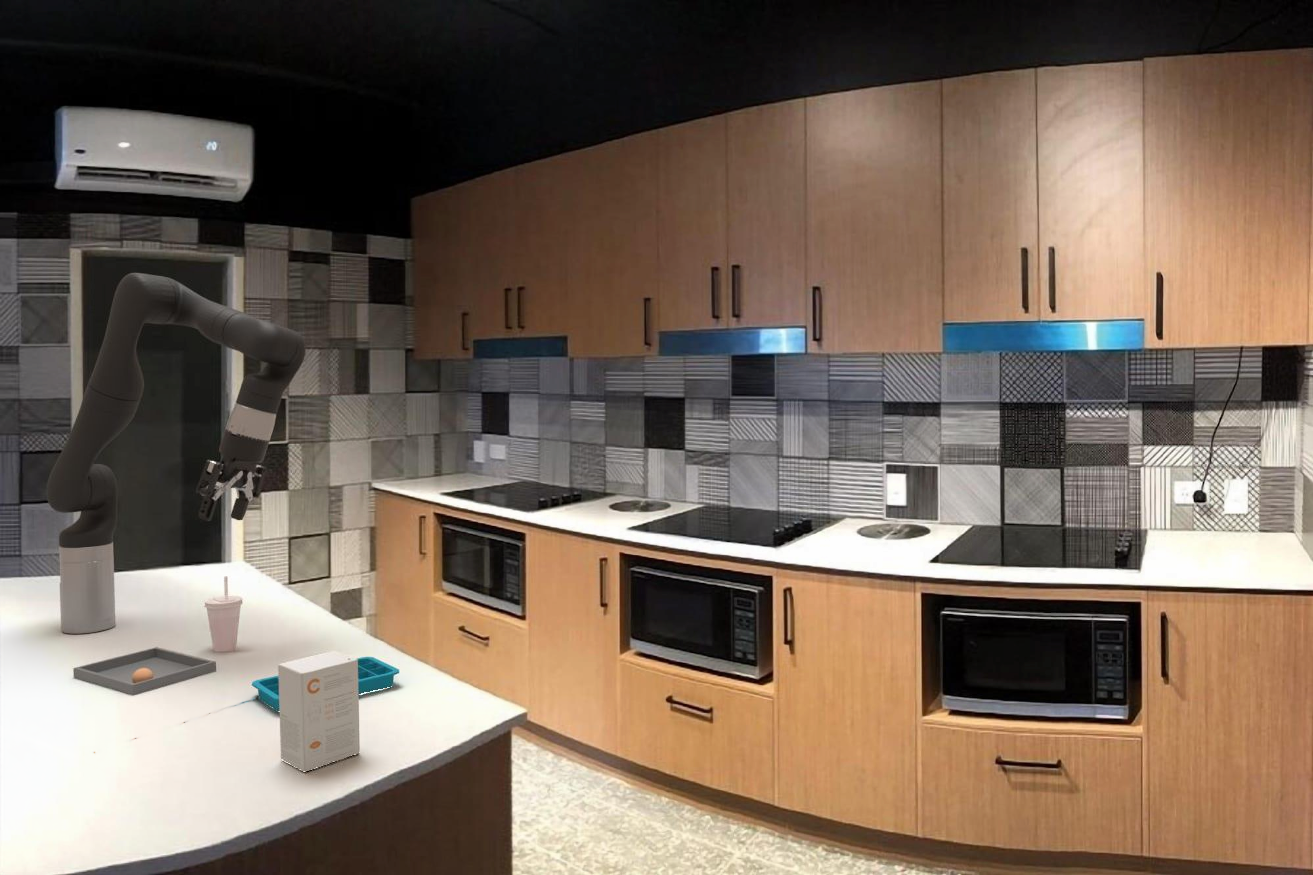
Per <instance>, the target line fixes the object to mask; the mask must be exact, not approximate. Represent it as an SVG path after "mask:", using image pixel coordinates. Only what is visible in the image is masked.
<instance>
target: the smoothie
mask: <svg viewBox="0 0 1313 875" xmlns="http://www.w3.org/2000/svg"><path fill="white" fill-rule="evenodd" d="M223 579H224V580H223V584H224V585H223V586H224V587H223V588H224V595H222V596H215V597H212V598H208V599H206V600H204V608H206V613H207V619H208V625H209V632H210V635H211V636H210V637H211V643H212V649H213V650H212V651H213V652H215V653H225V652H226V653H227V652H230V651H231V652H235V651H237V644H238V643H237V642H238V632H239V623H240V615H241V605H243V597H241V596H238V595H229V590H228V588H229V586H228V585H229V584H228V581H229V580H228V576H223Z"/></svg>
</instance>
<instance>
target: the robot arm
mask: <svg viewBox="0 0 1313 875" xmlns="http://www.w3.org/2000/svg"><path fill="white" fill-rule="evenodd" d="M107 321H108V322H107V326H106V329H105V335H104V338H103V342H102V343H101V344H102V345H101V347H100V350H99V353H98V357H97V358H96V359H97V360H96V362H95V365H94V369H93V371H92V372H91V376H90V377H89V380H88V383H87V386H86V388H85V392H84V394H83V397H82V400H81V404H80V407H79V410H78V412H77V415H76V417H75V420H74V422H73V426H72V428H71V430H70V433H69V435H68V437H67V440H66V443H65V444H64V446H63V448H62V450H61V452H60V454H59V456H58V458H57V460H56V462H55V464H54V466H53V468H52V470H51V472H50V474H49V477H48V480H47V484H46V500H47V503H48V505H49V506H50V507H51V509H53V510H54V511H56V512H59V513H65V514H68V513H70V514H71V513H78V512H80V514H79V515H80V516H79V517H78V518H77V520H76V521H74V523H73V524H71V525H69V526H68V527H67V528H64V529H63V530H61V532H59V536H58V550H59V551H58V552H59V578H60V579H59V580H60V582H59V602H60V606H59V607H60V628H61V632H62V633H65V634H74V635H75V634H88V633H89V634H90V633H95V632H96V633H97V632H101V631H106V630H108V629H109V630H110V629H111V628H114V627H115V626H116V596H115V592H116V590H115V589H116V588H115V564H114V563H115V562H114V561H115V560H114V559H115V558H114V533H115V531H116V529H117V528H116V527H117V521H118V519H117V517H118V513H117V512H118V482H117V478H116V476H115V474H114V472H113V470H112V469H111V468H110V467H109V466H108V465H105V464H101V463H96V464H95V460H96V459H97V457H98V456H99V454H100V453H101V452H102V451H103V450H104V449H105V447H107V446H108V445H109V444H110V443H111V441H113V440H114V439H115V438H116V437H117V436H118V435H119V434H120V433H122V432H123V431H124V429H125V428H127V427H128V426H129V424H130V423H131V422H132V420H133V418H134V417H135V414H136V412H137V410H138V407H139V405H140V401H141V399H142V396H143V393H144V389H145V380H144V375H143V373H142V369H141V365H140V363H139V359H138V356H137V343H138V341H139V337H140V334H141V331H142V328H143V326H144V325H145V324H154V325H155V324H156V325H169V324H170V325H179V326H185V327H189V328H193V329H196V330H198V331H199V333H200V334H201V335H202V336H204V337H205V338H206V339H208V340H210V341H211V342H212V343H216V344H218V345H221V346H222V347H223V346H224V347H226V348H228V349H230V350H233V351H237V352H239V353H241V354H243V355H244V356H246V357H249V358H250V359H251V358H252V359H254V360H256V361H259V362H262V363H265V364H266V365H265V366H264V367H263V369H262V370H261V371H260V372H258V373H250V374H247V375H245V377H244V378H243V379H242V382H241V384H240V385H241V386H240V389H239V391H238V394H237V397H236V400H235V403H234V406H233V407H232V409H231V412H230V414H229V417H228V420H227V424H226V426H225V429H224V432H223V436H222V438H221V441H220V445H219V449H218V451H219V452H218V453H220V454H221V455H222V457H221V459H220V461H215V460H211V459H207V460H206V462H205V464H204V466H203V470H202V472H201V475H200V478H199V481H198V483H197V486H196V488H195V492H196V493H198V494H199V495H201V496H202V502H201V504H200V507H199V511H198V518H199V519H201V520H204V521H206V522H207V521H211V520H212V519H213V516H214V513H215V511H216V507H217V504H218V499H219V498H220V497H221V495H222V494H223V493H226V492H228V491H229V490H230V489H235V491H236V496H237V497H236V498H235V501H234V504H233V507H232V510H231V513H230V518H231V519H233V520H235V521H236V520H237V521H243V520H244V517H245V515H246V512H247V509H248V506H249V503H250V502H252V500H253V499H258V498H260V496H261V493H262V488H263V485H264V481H265V478H266V474H267V470H268V469H267V467H265V466H263V465H260V464H261V463H264V459H265V456H266V453H267V450H268V447H269V443H270V441H271V436H272V434H273V430H274V428H275V423H276V419H277V413H278V411H279V408H280V405H281V401H282V398H283V395H284V393H285V391H286V389H287V388H288V387H289V385H290V384H291V382H292V381H293V379H294V377H295V376H296V374H297V372H298V371H299V370H300V368H301V366H302V364H303V362H304V360H305V357H306V353H307V352H306V351H307V348H306V347H307V346H306V345H307V344H306V341H305V338H304V337H303V336H302V334H300V333H299V332H298V331H295V330H292V329H290V328H288V327H284V326H281V325H278V324H276V323H272V322H269V321H266V320H263V319H260V318H257V317H255V316H253V315H250V314H249V313H247V312H246V313H245V312H242V311H240V310H237V309H235V308H232V307H230V306H226V305H223V304H220V303H218V302H215V301H212V300H209V299H208V298H205V297H203V296H201V295H200V294H198V293H197V292H196V291H195V292H194V291H193V290H192V289H191V288H189V287H187V286H185V285H184V284H182V283H181V282H179V281H177V280H175V279H173V278H171V277H166V276H162V275H155V274H150V273H141V272H131V273H128V274H127V275H125V276H123V278H121V280H120V281H119V283H118V285H117V287H116V290H115V292H114V296H113V300H112V304H111V308H110V313H109V317H108V320H107ZM207 482H208V485H207V486H206V483H207ZM254 485H255V489H254ZM205 486H206V487H205ZM215 489H216V490H215Z"/></svg>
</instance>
